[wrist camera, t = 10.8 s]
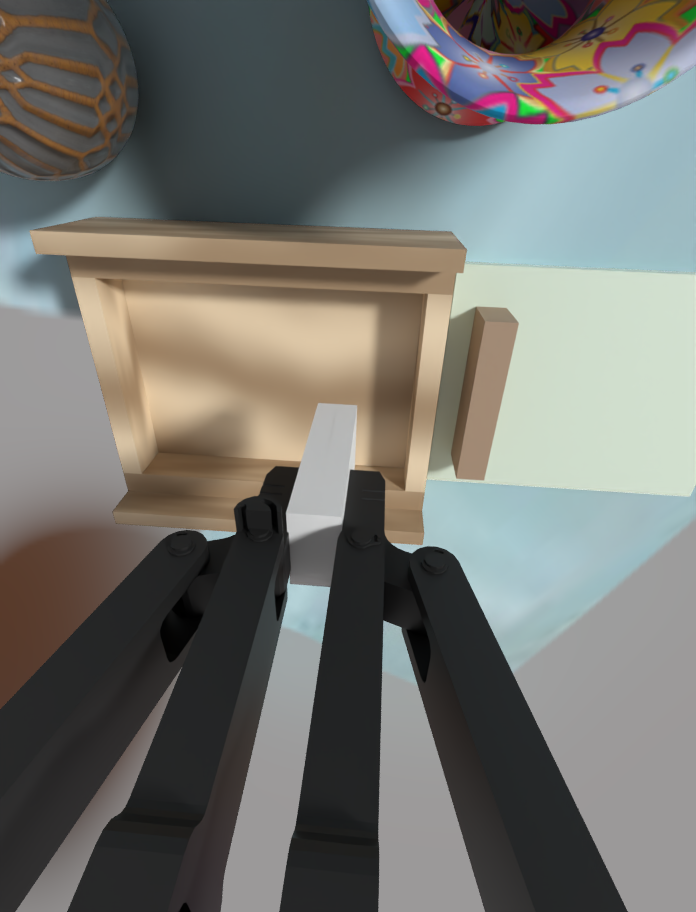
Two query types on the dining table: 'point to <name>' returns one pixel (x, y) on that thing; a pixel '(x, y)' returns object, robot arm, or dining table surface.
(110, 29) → the vase
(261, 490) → the robot arm
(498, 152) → the dining table surface
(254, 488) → the box
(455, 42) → the mug
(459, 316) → the lid
